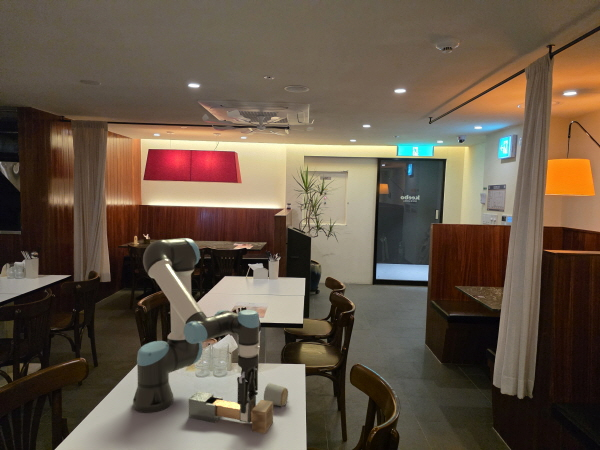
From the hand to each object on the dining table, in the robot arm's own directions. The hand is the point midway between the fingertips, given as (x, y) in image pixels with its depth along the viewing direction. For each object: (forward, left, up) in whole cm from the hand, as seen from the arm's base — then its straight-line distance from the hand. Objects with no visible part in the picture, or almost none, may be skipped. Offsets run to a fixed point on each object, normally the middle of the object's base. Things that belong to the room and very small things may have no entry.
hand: (247, 416), depth 151 cm
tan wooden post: (-3, 0, -1) cm, 4 cm away
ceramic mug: (+4, +19, -3) cm, 19 cm away
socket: (+6, 0, -3) cm, 7 cm away
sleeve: (-17, 0, -3) cm, 17 cm away
